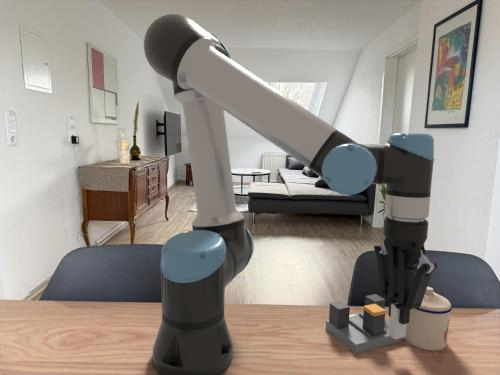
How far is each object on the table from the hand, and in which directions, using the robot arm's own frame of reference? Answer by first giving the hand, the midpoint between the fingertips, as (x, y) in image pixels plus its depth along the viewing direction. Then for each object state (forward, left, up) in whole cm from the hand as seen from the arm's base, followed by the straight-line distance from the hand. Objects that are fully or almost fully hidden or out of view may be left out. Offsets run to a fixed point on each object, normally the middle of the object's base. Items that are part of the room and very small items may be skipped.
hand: (397, 335), depth 67 cm
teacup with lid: (+11, +4, -5) cm, 13 cm away
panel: (0, +9, -5) cm, 10 cm away
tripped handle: (0, +6, -2) cm, 7 cm away
